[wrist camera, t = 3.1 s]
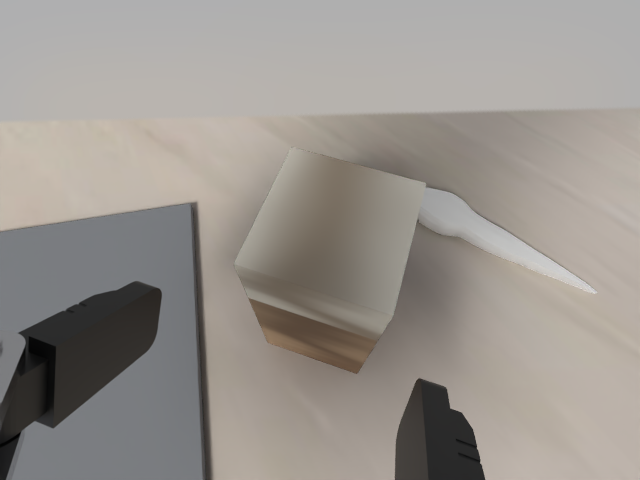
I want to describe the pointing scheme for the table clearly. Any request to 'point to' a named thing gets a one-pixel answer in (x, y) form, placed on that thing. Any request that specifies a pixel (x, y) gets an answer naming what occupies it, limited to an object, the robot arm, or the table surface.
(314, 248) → the cream and brown block
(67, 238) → the charcoal mat
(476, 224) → the white tapered spike part
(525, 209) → the table surface
